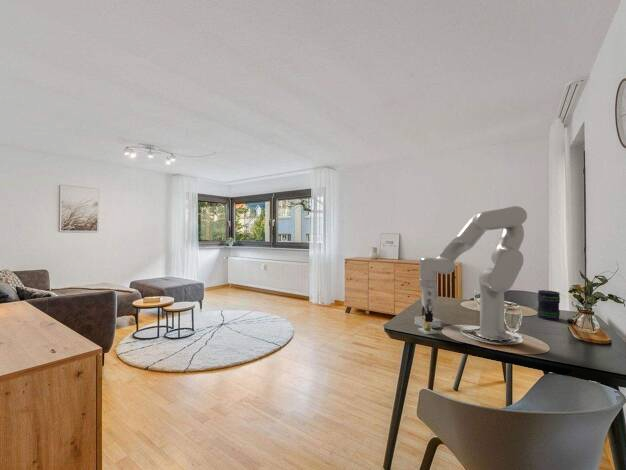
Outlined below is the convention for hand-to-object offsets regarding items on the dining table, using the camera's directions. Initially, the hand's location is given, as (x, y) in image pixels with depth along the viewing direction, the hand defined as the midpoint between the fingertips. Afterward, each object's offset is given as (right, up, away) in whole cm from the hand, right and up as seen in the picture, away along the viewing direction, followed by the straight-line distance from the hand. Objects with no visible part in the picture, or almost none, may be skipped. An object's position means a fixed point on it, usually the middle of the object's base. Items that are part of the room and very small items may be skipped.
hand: (427, 318), depth 145 cm
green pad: (0, -6, 0) cm, 6 cm away
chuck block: (+3, -6, +12) cm, 14 cm away
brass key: (0, -5, 0) cm, 5 cm away
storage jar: (+78, -7, +25) cm, 82 cm away
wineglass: (+10, -6, +22) cm, 25 cm away
